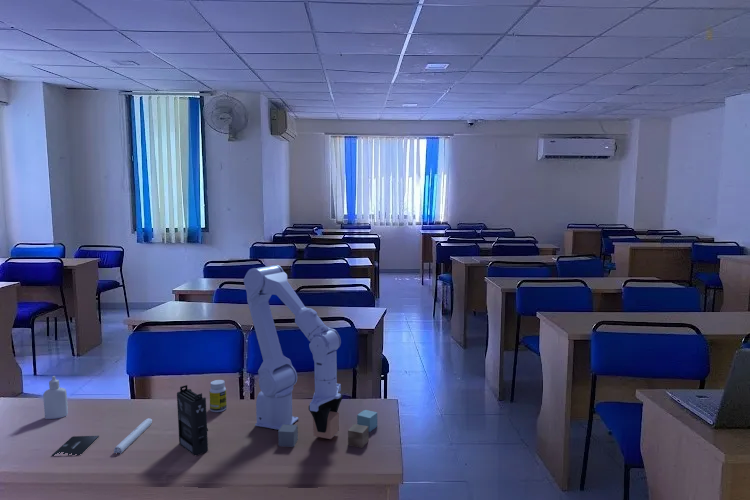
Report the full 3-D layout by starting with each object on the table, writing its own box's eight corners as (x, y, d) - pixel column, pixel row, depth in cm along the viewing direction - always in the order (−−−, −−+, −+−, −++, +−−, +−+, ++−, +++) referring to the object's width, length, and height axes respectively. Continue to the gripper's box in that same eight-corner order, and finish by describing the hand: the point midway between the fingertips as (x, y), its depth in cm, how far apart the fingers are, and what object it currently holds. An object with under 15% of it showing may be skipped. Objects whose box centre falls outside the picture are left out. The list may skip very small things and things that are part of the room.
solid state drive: (51, 458, 126) (50, 455, 126) (72, 438, 136) (72, 436, 136) (80, 457, 127) (80, 454, 127) (99, 437, 137) (99, 435, 137)
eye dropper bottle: (53, 412, 152) (50, 373, 150) (71, 413, 151) (68, 374, 150) (42, 419, 147) (38, 378, 146) (59, 420, 147) (56, 379, 145)
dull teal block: (357, 428, 141) (357, 414, 140) (365, 423, 144) (364, 409, 144) (369, 432, 139) (369, 418, 138) (377, 426, 142) (377, 412, 142)
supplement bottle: (221, 413, 151) (220, 385, 150) (207, 412, 152) (205, 384, 151) (229, 406, 155) (228, 379, 155) (215, 405, 156) (214, 378, 155)
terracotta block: (313, 435, 134) (313, 417, 134) (322, 427, 139) (321, 409, 138) (330, 439, 132) (330, 420, 132) (339, 430, 137) (338, 412, 137)
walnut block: (348, 445, 131) (347, 430, 131) (354, 438, 135) (354, 423, 135) (362, 448, 130) (362, 433, 130) (368, 441, 134) (368, 426, 133)
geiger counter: (214, 450, 129) (211, 393, 127) (196, 457, 126) (194, 398, 124) (194, 437, 136) (192, 382, 134) (177, 443, 133) (174, 386, 131)
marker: (147, 422, 146) (147, 414, 145) (155, 422, 146) (154, 414, 145) (113, 454, 128) (113, 445, 127) (122, 455, 128) (121, 446, 127)
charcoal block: (278, 446, 131) (278, 431, 131) (282, 439, 135) (282, 424, 135) (294, 447, 131) (293, 432, 130) (297, 439, 135) (297, 424, 134)
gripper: (327, 388, 126) (328, 441, 127) (350, 369, 139) (351, 417, 141) (301, 385, 128) (302, 437, 130) (327, 366, 142) (327, 414, 143)
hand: (326, 426), depth 135 cm, fingers closed on terracotta block, 5 cm apart
